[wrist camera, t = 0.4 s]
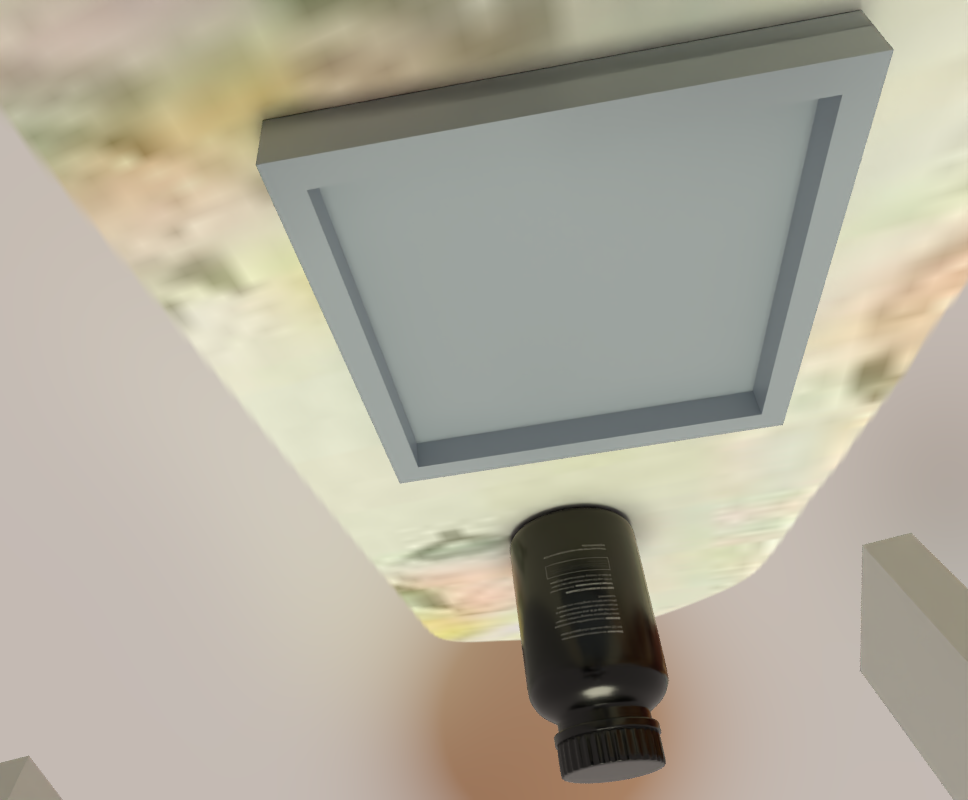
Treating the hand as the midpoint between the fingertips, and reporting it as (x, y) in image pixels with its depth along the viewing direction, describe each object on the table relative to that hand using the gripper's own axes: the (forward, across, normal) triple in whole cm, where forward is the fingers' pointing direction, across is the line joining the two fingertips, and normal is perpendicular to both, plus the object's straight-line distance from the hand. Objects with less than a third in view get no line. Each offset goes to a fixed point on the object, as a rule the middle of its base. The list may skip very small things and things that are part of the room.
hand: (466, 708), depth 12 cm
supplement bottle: (+25, +4, -17) cm, 30 cm away
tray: (+16, +5, 0) cm, 17 cm away
